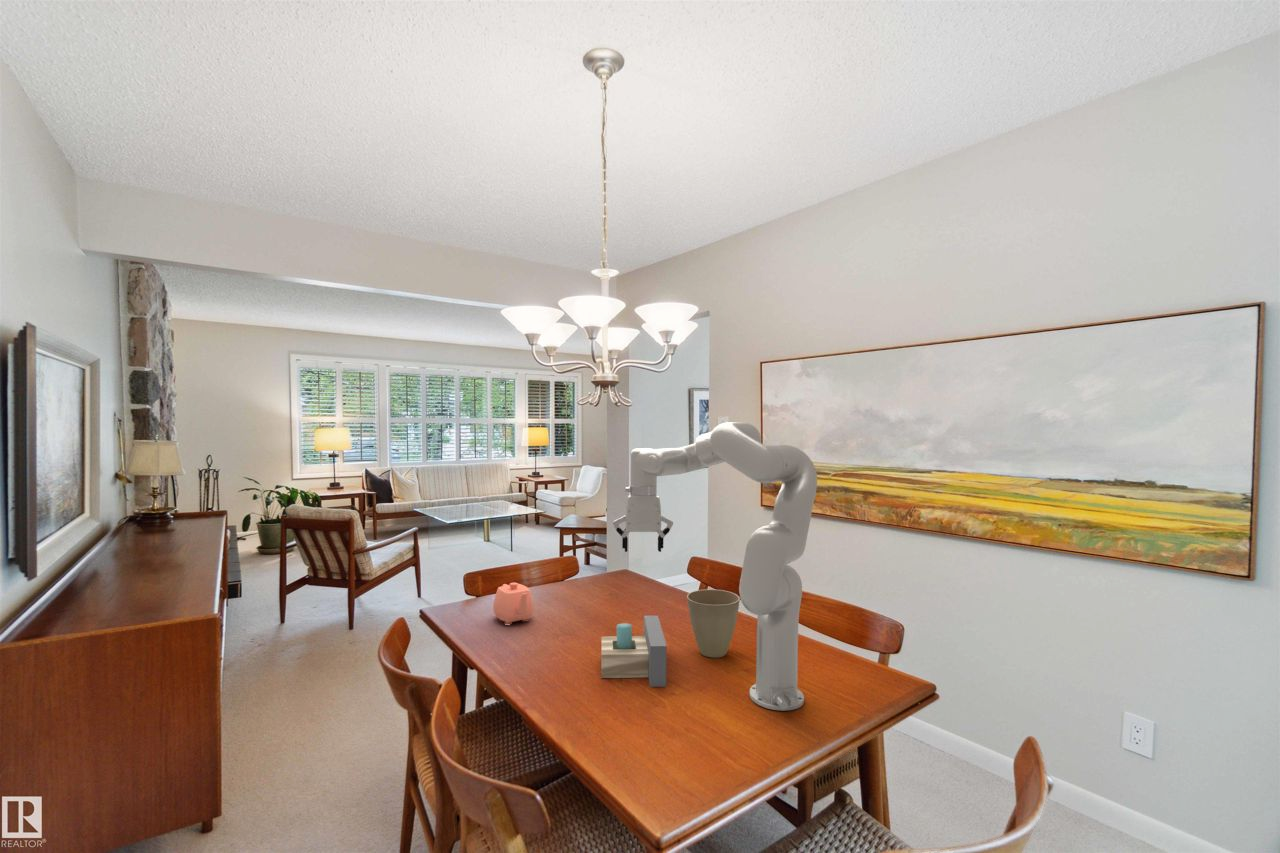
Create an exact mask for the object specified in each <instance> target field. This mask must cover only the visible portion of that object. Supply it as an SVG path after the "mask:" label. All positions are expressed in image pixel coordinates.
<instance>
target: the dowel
mask: <svg viewBox="0 0 1280 853" xmlns="http://www.w3.org/2000/svg"><path fill="white" fill-rule="evenodd" d="M632 626H633V625H632V624H630V623H627V622H625V623H624V622H623V623H618V624H617V625H616V636H617V650H618V649H632V636H633V635H632V634H633V630H632V629H633V628H632Z"/></svg>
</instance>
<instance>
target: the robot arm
mask: <svg viewBox="0 0 1280 853" xmlns="http://www.w3.org/2000/svg"><path fill="white" fill-rule="evenodd" d="M722 463H727V464H728V465H729V466H731V467H732V468H734V469H735V470H737V471H738V472H740V473H742V475H745V476H746V477H748V478H750V479H751V480H752V481H755V482H757V483H760V484H770V483H778V482H780V483H781V487H780V490H779V491H778V494H777V496H776V498H775V502H774V504H773V505H774V506H773V513H772V516H771V519H770V522H769V524H766V525H762V526H760V527H759V528H756V530H754V531H753V533H752V534H751V535H750V537H749V539H748V540H747V543H746V548H745V552H744V557H743V558H744V559H743V564H742V568H741V574H740V579H739V587H738V591H739V597H740V601H741V603H742V606H744V608H745V610H747V611H748V612H750V613H751V614H753V615H756V616H757V619H756V656H755V658H756V660H755V661H756V662H755V663H756V665H755V666H756V669H755V670H756V671H755V674H756V676H755V684H753V685H751V686H750V688H749V691H748V693H749V697H750V699H751V701H752V702H753V703H755V704H756V705H758V706H760V707H763V708H765V709H768V710H773V711H781V712H784V711H785V712H787V711H794V710H797V709H800V708H801V707H802V706H803V705H804V703H805V695H804V693H803V692H802V691H801V690H800V689H798V667H799V666H798V660H799V659H798V657H799V656H798V655H799V654H798V653H799V652H798V650H799V648H798V647H799V646H798V645H799V618H800V609H801V608H800V607H801V602H802V596H803V583H802V582H803V581H802V580H801V579H802V578H801V576H800V574H799V573H798V571H797V570H796V569H794V567H792V566H790V565H789V564H790V563H793V562H795V561H797V560H799V559H800V558H801V557H802V556H803V555H804V552H805V549H806V546H807V545H806V544H807V539H808V534H809V528H810V523H811V519H812V513H813V512H812V511H813V507H814V503H815V499H816V494H817V488H818V474H817V473H818V472H817V470H816V466H815V465H814V463H813V461H812V459H811V458H810V457H809V455H808V454H806V453H805V452H804V451H803V450H802V449H800V448H798V447H796V446H792V445H787V444H775V445H765V444H763V443H762V435H761V433H760V431H759V430H758V428H757V427H756V426H754V425H753V424H752V423H748V422H735V421H734V422H732V421H731V422H722V423H720V424H718V425H716V426H715V427H714V428H713V429H712V431H710V432H706V433H702V434H700V435H698V436H697V437H696V439H695V441H694V443H692V444H689V445H685V446H681V447H666V448H655V449H654V448H650V447H643V448H642V447H638V448H633V449H632V450H631V452H630V484H629V486H626V487H625V489H624V490H625V492H626V493H629V495H628V496H627V501H626V507H625V515H623V516H621V517H620V518H617V519H615V520H613V521H612V525H613V527H614V528H615V531H616V532H617V533H618V534H619V536H621V538H622V540H621V542H622V545H621V546H622V547H621V549H624V552H625V553H627V552H628V551H629V550H628V549H629V548H628V546H629V544H628V535H629V534H630V533H657V535H658V536H657V551H658V552H659V553H662V549H664V538H665V537H666V535H668V533H669V532H670V531H671V529H672V527H673V525H674V522H673V521H672V520H671V519H668V518H667V517H665V516H663V515H662V508H661V499H660V496H659V495H658V494H657V491H658V490H657V487H658V486H657V483H658V482H657V479H658V478H657V477H664V476H665V477H666V476H674V475H682V474H686V473H690V472H695V471H697V470H698V471H699V470H701V469H705V468H710V467H712V466H714V465H715V466H716V465H719V464H722ZM624 522H625V523H624ZM662 522H663V523H664V524H666V527H665V528H664V529H663V530H662ZM622 523H624V524H625V528H624V530H623V529H622V528H621V527H620V524H622Z"/></svg>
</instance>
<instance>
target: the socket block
mask: <svg viewBox="0 0 1280 853" xmlns="http://www.w3.org/2000/svg"><path fill="white" fill-rule="evenodd" d="M600 646H601V651H600V652H601V656H600V657H601V658H600V661H601V663H600V667H601V668H600V670H601V671H600V672H601V673H600V674H601V675H600V678H601V679H621V678H622V679H626V678H627V679H628V678H648V660H649V653H648V648H647V643H646V638H645V636H644V635H632V649H618V650H617V635H616V636H615V635H614V636H613V635H611V636H601V645H600Z"/></svg>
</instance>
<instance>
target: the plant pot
mask: <svg viewBox="0 0 1280 853" xmlns="http://www.w3.org/2000/svg"><path fill="white" fill-rule="evenodd" d="M686 599H687V601H686V602H687V608H688V614H689V619H690V623H691V627H692V630H693V635H694V637H695V641H696V643H697V647H698V649H699V653H700V654H701V655H702V656H704V657H708V658H712V659H713V658H715V659H716V658H722V657H724V656H726V655H727V653H728V650H729V648H730V645H731V642H732V640H733V639H732V638H733V636H734V631H735V628H736V624H737V619H738V614H739V608H740V607H739V606H740V601H741V598H740V595H738V594H736V593H734V592H732V591H728V590H723V589H713V588H712V589H710V588H709V589H708V588H707V589H705V588H704V589H697V590H694V591H691V592H689V593H688V594H687V595H686Z"/></svg>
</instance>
